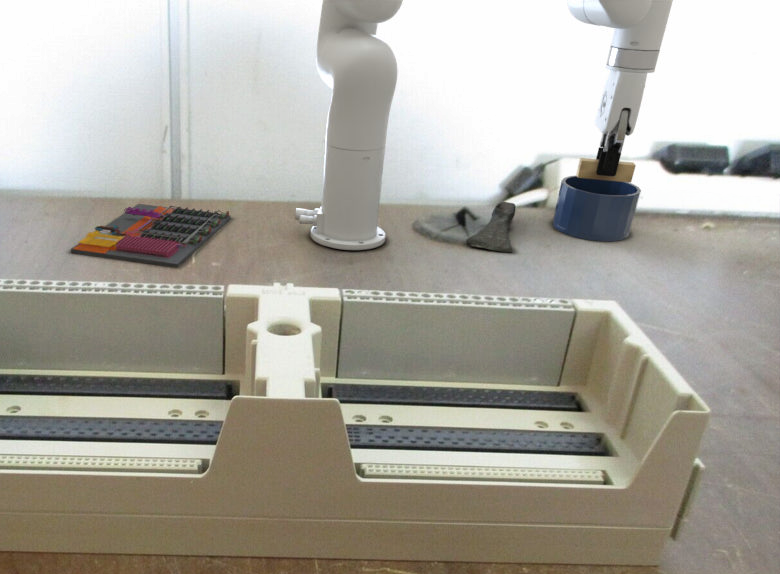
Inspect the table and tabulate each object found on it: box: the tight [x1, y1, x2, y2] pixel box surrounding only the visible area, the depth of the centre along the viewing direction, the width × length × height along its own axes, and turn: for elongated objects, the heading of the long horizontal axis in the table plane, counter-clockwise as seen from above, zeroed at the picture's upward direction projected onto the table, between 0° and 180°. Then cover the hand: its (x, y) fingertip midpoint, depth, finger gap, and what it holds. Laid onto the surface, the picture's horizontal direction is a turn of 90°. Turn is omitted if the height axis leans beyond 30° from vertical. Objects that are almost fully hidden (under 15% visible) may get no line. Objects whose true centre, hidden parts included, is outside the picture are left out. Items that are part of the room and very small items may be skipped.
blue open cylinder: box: [552, 174, 642, 242], centre depth 137 cm, size 13×13×8 cm
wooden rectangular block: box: [575, 157, 636, 183], centre depth 134 cm, size 9×2×3 cm, turn 79°
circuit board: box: [70, 203, 231, 268], centre depth 126 cm, size 25×18×3 cm
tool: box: [465, 201, 516, 253], centre depth 134 cm, size 21×8×3 cm, turn 160°
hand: (604, 172), depth 134 cm, fingers closed on wooden rectangular block, 2 cm apart
